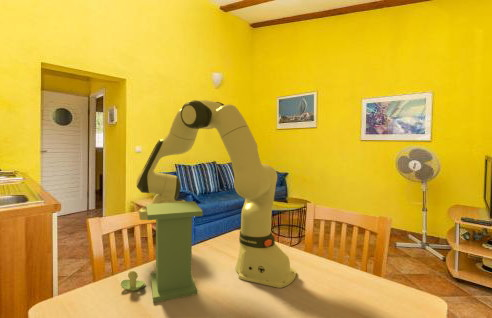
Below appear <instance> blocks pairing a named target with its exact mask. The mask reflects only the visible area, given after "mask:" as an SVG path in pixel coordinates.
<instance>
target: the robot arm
mask: <svg viewBox="0 0 492 318" xmlns="http://www.w3.org/2000/svg"><path fill="white" fill-rule="evenodd" d="M213 129H216V130H217V132H218V134H219V136H220V139H221V140H222V143H223V145H224V147H225V150H226V152H227V154H228V157H229V158H230V162H231V167H232V171H233V175H234V176H233V177H234V180H233V186H234V187H233V188H234V190H235V192H236V193H237V194H238V195H239V197H241V198H243V199H244V203H243V206H242V207H241V213H240V214H241V217H240V231H239V238H238V239H239V240H238V241H239V252H238V256H237V257H238V258H237V261H236V263H235V264H236V265H235V268H234V269H235V271H236V272H237V274H238V279H240V280H242V281H248V282H252V283H256V284H261V285H265V286H269V287H274V288H277V289H280V288H281V289H282V288H284V287H287V286H288V285H290V284H291V283H292V282H294V280H295V279H296V278H297V270H296V269H295V268H293V267H291V263H290V257H289V256H288V255H287V254H286V252H284V251H283V250H282V248H280V247H279V245H277V244H276V243H275V242H276V240H277V239H278V238H277V237H278V235H275V236H274V235H273V233H272V230H271V229H272V211H273V206H274V201H275V194H276V186H277V181H278V173H277V170H276V169H275V168H274V167H273V166H271V165H269V164H267V163H262V162H261V158H260V154H259V149H258V147H259V146H258V144H257V142H256V139H255V137H254V135H253V134H252V131H251V129H250V127H249V125H248V123H247V121H246V120H245V118H244V116H243V114H242V113H241V112H240V110H239V109H238V108H237V107H236V105H234V104H224V103H222V102H220V101H214V100H213V101H212V100H207V99H203V100H202V99H201V100H196V99H195V100H194V99H193V100H190V101H187V102H185V103H184V104H183V105H182V107H181V108H180V109H179V110H178V111H177V113H176V114H175V116H174V118H173V120H172V123H171V127H170V128H169V132H168V134H167V135H166V136H164V138H161V139H158V141H157V142H156V144H155V146H154V148H153V149H152V151H151V153H150V155H149V157H148V158H147V161H146V163H145V164H144V166H143V168H142V170H141V172H140V173H139V175H138V176H137V179H136V188H137V189H138V190H139V191H140V193H142V194H143V193H144V194H154V196H153V198H152V203H151V204H158V203H175V202H186V200H184V199H178V198H179V195H180V192H181V181H180V179H179V178H178V176H177V175H174V174H169V173H163V172H158V171H155V169H156V167H157V166H158V163H159V161H161V159H162V158H165V157H169V156H174V155H175V156H177V155H183V154H186V153H187V152H189V151H191V150H192V148H193V146H194V145H195V141H196V139H197V135H198V133H199V131H200V130H213ZM137 212H138V214H139V215H138V216H139V218H138V219H139V221H146V220H147V221H149V220H148V219H147V211H146V206H141V208H139V209H138V211H137Z"/></svg>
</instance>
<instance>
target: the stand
mask: <svg viewBox="0 0 492 318" xmlns="http://www.w3.org/2000/svg"><path fill="white" fill-rule="evenodd" d="M145 207H146V211H147V219H148V220H147V221H155V272H151V273H150V282H151V283H150V284H151V293H152V303H158V302H164V301H169V300H174V299H179V298H180V299H181V298H184V297H186V298H187V297H190V296H195V295H198V287H197V285H196V283H195V280H194V277H193V275H192V253H193V252H192V249H193V248H192V245H193V243H192V241H193V235H192V232H193V218H194V217H203V215H204V214H203V213H204V211H203V209H202V208H201V207H200V206H199V205H198V204H197V202H196V201H194V200H193V201H185V202H175V203H158V204H152V203H147V204H146V205H145Z"/></svg>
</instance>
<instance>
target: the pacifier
mask: <svg viewBox="0 0 492 318" xmlns="http://www.w3.org/2000/svg"><path fill="white" fill-rule="evenodd" d="M127 277H128V279H124V280H121V282H120V286H121V288H122V289H124V290H128V291H138V290H139V289H142V288H145V287H146V281H144V280H137V279H138V273H137V272H136V271H135V270H130V271H129V272H128V275H127Z"/></svg>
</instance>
